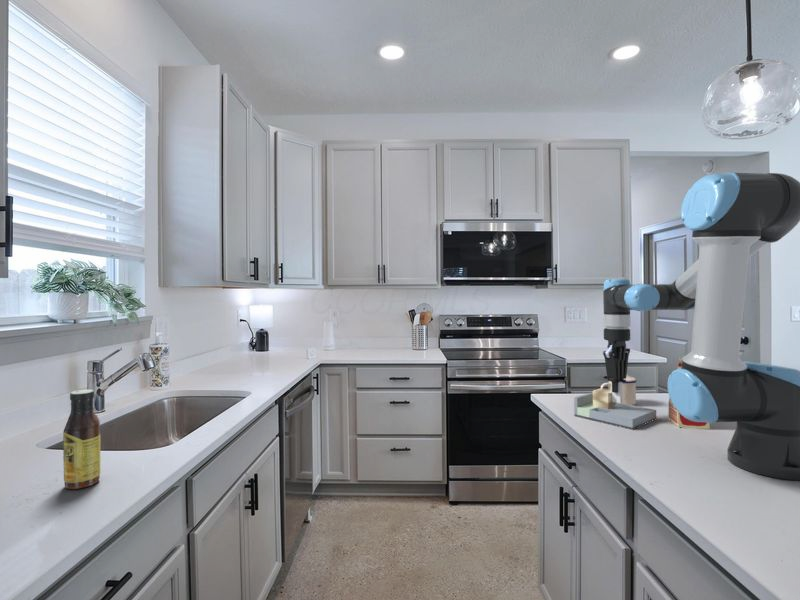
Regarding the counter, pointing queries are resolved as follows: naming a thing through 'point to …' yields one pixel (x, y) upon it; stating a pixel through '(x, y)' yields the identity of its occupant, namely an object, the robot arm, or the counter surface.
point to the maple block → (603, 398)
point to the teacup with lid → (626, 390)
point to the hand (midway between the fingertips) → (617, 402)
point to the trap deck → (613, 413)
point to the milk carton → (681, 420)
